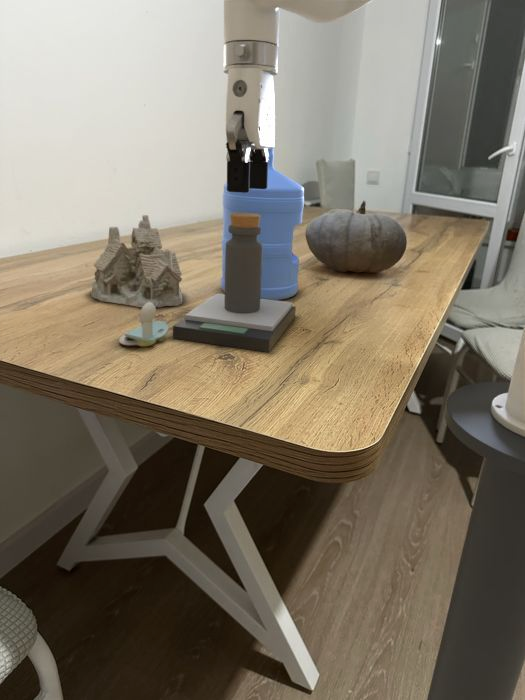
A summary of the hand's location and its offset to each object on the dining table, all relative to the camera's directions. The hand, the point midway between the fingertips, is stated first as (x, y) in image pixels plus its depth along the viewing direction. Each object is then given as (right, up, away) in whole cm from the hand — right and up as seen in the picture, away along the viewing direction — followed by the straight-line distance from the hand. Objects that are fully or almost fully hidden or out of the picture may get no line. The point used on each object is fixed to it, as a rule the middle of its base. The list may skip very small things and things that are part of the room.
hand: (248, 190), depth 78 cm
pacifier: (-16, -23, -2) cm, 28 cm away
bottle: (-1, -17, +7) cm, 19 cm away
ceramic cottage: (-21, -14, +20) cm, 33 cm away
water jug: (+2, -12, +28) cm, 31 cm away
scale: (-2, -20, +7) cm, 21 cm away
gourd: (+24, -4, +53) cm, 59 cm away
